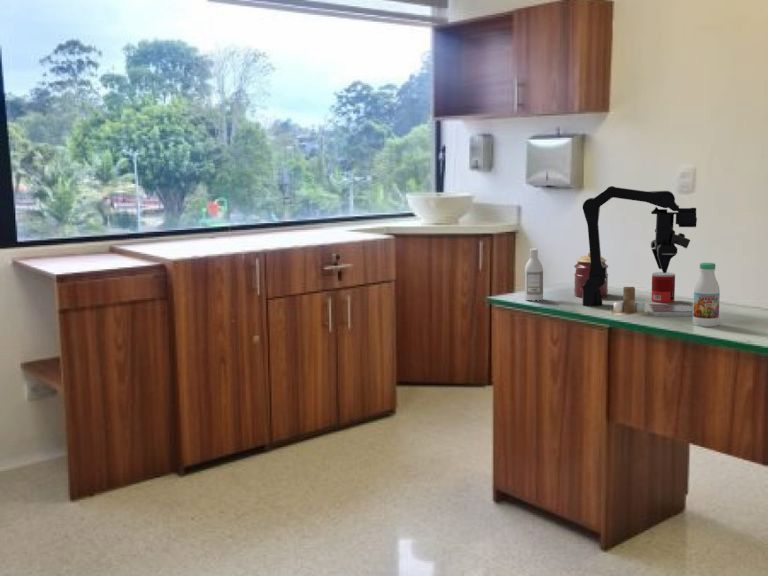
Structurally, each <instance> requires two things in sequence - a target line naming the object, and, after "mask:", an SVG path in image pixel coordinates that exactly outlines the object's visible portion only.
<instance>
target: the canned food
mask: <svg viewBox="0 0 768 576" xmlns="http://www.w3.org/2000/svg"><path fill="white" fill-rule="evenodd" d="M651 275H652V276H651V302H652V303H655V304H656V303H657V304H673V303H674V302H675V295H676V293H675V290H676V289H675V287H676V273H674V272H669V271H667V272H666V273H663V271H661V272H660V271H659V272H657V271H656V272H652V274H651Z"/></svg>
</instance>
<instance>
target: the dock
mask: <svg viewBox="0 0 768 576" xmlns="http://www.w3.org/2000/svg"><path fill="white" fill-rule="evenodd" d="M648 309H649V310H650V312H651V313H652V315H653V316H654V317H657V316H659V317H693V308H692V307H691V306H690V305H689V304H682V303H681V304H679V303H678V304H673V303H657V304H656V303H655V304H654V303H652V304H651V303H650V304H648Z"/></svg>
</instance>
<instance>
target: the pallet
mask: <svg viewBox="0 0 768 576" xmlns="http://www.w3.org/2000/svg"><path fill="white" fill-rule="evenodd" d="M622 289H623V294H622V297H623V298H622V299H623V302H622V303H623V312H620V313H618V312H613V310H614V307H610V308H609V310H610V312H611V315H612V316H650V315H649V313H648V311H647V309H646V308H645V312H643V313H638V312H635V303H636V288H635V286H623V288H622Z"/></svg>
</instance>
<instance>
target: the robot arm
mask: <svg viewBox="0 0 768 576" xmlns="http://www.w3.org/2000/svg"><path fill="white" fill-rule="evenodd" d="M612 198H615V199H623V200H629V201H637V202H644V203H649V204H651V205H653V206H655V207H654V209H653V210H652V211H651V212H650V213H651V215H656V221H655V229H654V233H655V239H653V240H652V241H651V242H650V248H651V251H652V254H653V257H654V259H655V262H656V265H657V267H658V270H661V272H663V273H666V272H668V269H669V265H670V262H671V261H672V258H674V257H675V256H676V255H678V248H677V247H678V246H680V247H682V248H684V249H688V246H689V245H690V242H691V239H689V238H687V237H686V234H684V233H681V232H679V233H678V234H677V233H676V231H675V230H674V222H675V225H678V228H697V222H698V221H697V220H698V217H697V208H696V207H687V208H686V207H683V208H682V207H680V205H677V203H676V197H675V195H674V194H673V192H672V191H670V190H651V191H650V190H649V191H648V190H639V189H632V188H625V187H617V186H613V185H611V186H608V187H606V189H605V190H604V191H602V192H601V193H599V194H597V195H596V196H595V197H590V198H589V197H588V199H586V200H585V201H584V202H583V204H582V210H583V215H584V218H585V221H586V224H587V232H588V233H587V234H588V244H589V245H588V246H589V252H590V260H591V264H590V272H589V279H588V280H587V281H586V282H585V283H584V285H583V297H582V306H583V307H601V306H603V297H602V293H601V290H600V289H599V287H601V286H602V285H603V284H604V283H605V280H606V279H607V276H609V274H608V271H607V272H606V269H607V270H608V268H607V265H608V264H607V265H604V266H603V264H602V261H601V257H602V253H601V241H600V226H599V219H600V211H601V206H603V205H604V204H606V203H607V202H609V201H610V200H611V199H612ZM658 207H659V208H658ZM660 208H662V209H660ZM668 209H669V210H672V211H668ZM674 219H675V220H674ZM676 245H677V246H676ZM607 274H608V275H607Z"/></svg>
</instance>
